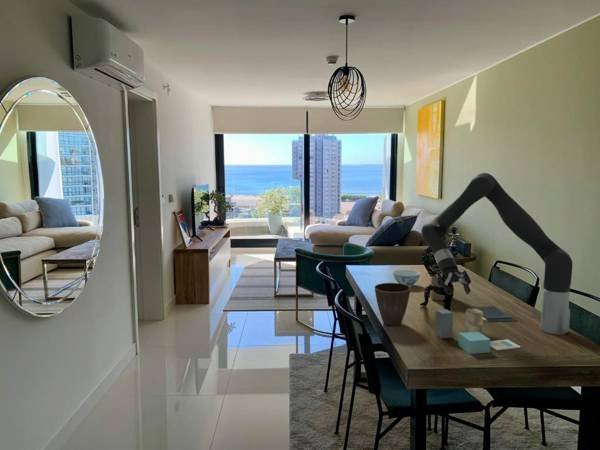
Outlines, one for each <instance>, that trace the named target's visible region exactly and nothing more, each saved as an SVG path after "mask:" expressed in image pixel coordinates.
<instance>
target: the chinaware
mask: <svg viewBox="0 0 600 450" xmlns="http://www.w3.org/2000/svg"><path fill="white" fill-rule="evenodd" d="M392 274H393V277H394V280H395V281H396V283H398V284H404V285H407V286H409V287H410V288H412V287H413V285H415V284H416V283H417V282H418V281H419V279H420V277H421V272H420V271H417V270H412V269H396V270H393V271H392Z"/></svg>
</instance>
